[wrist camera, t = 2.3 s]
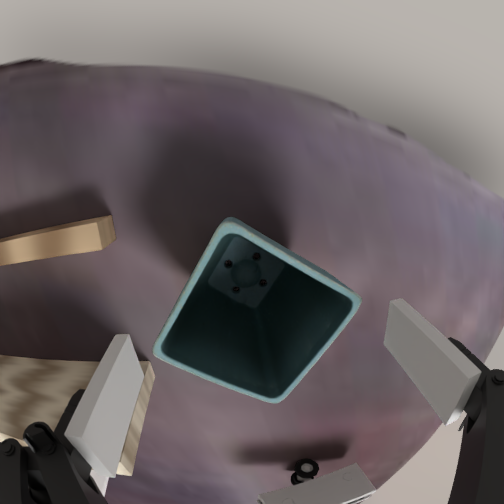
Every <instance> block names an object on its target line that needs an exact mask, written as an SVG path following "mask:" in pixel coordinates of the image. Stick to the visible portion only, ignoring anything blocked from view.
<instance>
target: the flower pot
mask: <svg viewBox="0 0 504 504" xmlns="http://www.w3.org/2000/svg"><path fill="white" fill-rule="evenodd" d="M255 253H259V254H260V258H259V259H255V258H254V257H253V255H254V254H255ZM227 260H230V261H231V262H232V264H231V265H230V266H226V264H225V262H226V261H227ZM262 279H265V280H266V284H265V285H261V284H260V281H261V280H262ZM233 287H239V290H238V291H234V290H233ZM361 302H362V298H361V297H360V296H359V295H358V294H357V293H355V292H354V291H353V290H351V289H350V288H348V287H347V286H346V285H344V284H343V283H342V282H340V281H339V280H338V279H336V278H335V277H333V276H332V275H331V274H329V273H328V272H327V271H325V270H323V269H322V268H320V267H318V266H316V265H315V264H313V263H311V262H309V261H308V260H306V259H304V258H302V257H301V256H299V255H297V254H296V253H294V252H292V251H290V250H289V249H287V248H285V247H283V246H282V245H280V244H278V243H277V242H275V241H273V240H272V239H270V238H268V237H267V236H265V235H263V234H262V233H260V232H258V231H257V230H255V229H253V228H252V227H250V226H248V225H247V224H245V223H243V222H242V221H240V220H238V219H236V218H234V217H228V218H226V219H224V220H223V221H222V222H221V224H220V225H219V226H218V228H217V229H216V231H215V233H214V234H213V236H212V238H211V240H210V242H209V244H208V246H207V247H206V249H205V251H204V253H203V254H202V256H201V258H200V260H199V262H198V263H197V265H196V267H195V269H194V270H193V272H192V274H191V276H190V278H189V279H188V281H187V283H186V285H185V287H184V289H183V290H182V292H181V294H180V296H179V298H178V300H177V302H176V304H175V305H174V307H173V309H172V311H171V313H170V315H169V317H168V319H167V321H166V322H165V324H164V326H163V328H162V330H161V332H160V333H159V335H158V337H157V339H156V341H155V343H154V345H153V348H152V352H153V354H154V356H156V357H157V358H159V359H161V360H163V361H164V362H167V363H169V364H171V365H173V366H175V367H178V368H180V369H183V370H185V371H187V372H190V373H192V374H194V375H197V376H199V377H201V378H203V379H206V380H209V381H211V382H214V383H216V384H219V385H221V386H223V387H226V388H229V389H232V390H234V391H237V392H239V393H242V394H245V395H248V396H251V397H254V398H256V399H259V400H262V401H265V402H270V403H279V402H280V401H282V400H283V399H284V398H286V396H287V395H289V393H290V392H291V391H292V390H293V389H294V388H295V387H296V385H297V384H298V383H299V382H300V381H301V379H302V378H303V377H304V376H305V375H306V374H307V372H308V371H309V370H310V369H311V368H312V367H313V365H314V364H315V363H316V362H317V361H318V359H319V358H320V357H321V355H322V354H323V353H324V352H325V351H326V350H327V349H328V347H329V346H330V345H331V344H332V342H333V341H334V340H335V339H336V338H337V337H338V335H339V334H340V332H341V331H342V330H343V329H344V327H345V326H346V325H347V324H348V322H349V321H350V320H351V318H352V317H353V315H354V314H355V313H356V312H357V310H358V308H359V306H360V304H361Z"/></svg>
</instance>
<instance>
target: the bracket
mask: <svg viewBox="0 0 504 504" xmlns="http://www.w3.org/2000/svg"><path fill="white" fill-rule="evenodd" d="M294 470H295V473H293V474H292V476H291V483H292V484H293V486H290V487H287V488H283V489H279V490H275V491H271V492H267V493H263V494H259V495H258V498H259V499H260V500H257V502H258V504H355V503H358V502H360V501H363V500H365V499H367V498H370V497H371V495H370V494H372V493H375V491H376V488H375V487H374V486H373V485H372V483H371V482H370V481H369V479H368V478H367V477H366V475H365V474H364V473H363V471H362V470H361V469H360V467H359V466H358V464H357V463H354V464H352V465H349V466H347V467H345V468H342V469H340V470H337V471H335V472H332V473H329V474H327V475H324V476H321V477H318V478H315V479H314V477H313V476H315V475H317V473H318V470H319V467H318V464H317V463H316V462H315V461H313V460H311V459H303V460H301V461H299V462H298V463H296V466H295V469H294Z"/></svg>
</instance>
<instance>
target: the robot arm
mask: <svg viewBox="0 0 504 504" xmlns="http://www.w3.org/2000/svg"><path fill="white" fill-rule="evenodd" d="M384 345H385V347H386V348H387V349H388V350H389V352H390V353H391V354H392V355H393V357H394V358H395V359H396V361H397V362H398V363H399V364H400V366H401V367H402V368H403V370H404V371H405V372H406V373H407V375H408V376H409V377H410V379H411V380H412V381H413V383H414V384H415V385H416V387H417V388H418V389H419V391H420V392H421V393H422V395H423V396H424V397H425V399H426V400H427V401H428V403H429V404H430V405H431V407H432V408H433V409H434V411H435V412H436V414H437V415H438V416H439V418H440V419H441V420H442V422H443V423H444V425H445V426H446V425H448V424H450V423H452V422H454V421H456V420H458V419H459V417H460V415H461V413H462V412H463V410H464V411H465V412H466V413H467V415H466V417H465V419H464V420H463V422H462V424H461V426H460V428H459V430H458V431H460V430H461V429H462V428H463V426H464V429H463V437H462V443H461V449H460V455H459V460H458V465H457V470H456V474H455V478H454V483H453V486H452V490H451V494H450V498H449V501H448V504H504V371H503V370H499V369H493V370H489V369H488V368H487V367H486V366H485V365H484V364H483V363H482V362H481V361H480V360H479V359H478V358H477V357H476V356H475V355H474V354H471V352H470V351H469V350H468V349H466V347H465V346H464V345H463V344H462V343H461V342H459V341H457V340H455V339H453V338H451V337H450V338H448V339H447V338H446V337H445V336H444V335H443V334H442V333H441V332H439V331H438V330H437V329H436V328H435V327H434V326H433V325H432V324H431V323H429V322H428V321H427V320H426V319H425V318H424V317H423V316H422V315H421V314H419V313H418V312H417V311H416V310H415V309H414V308H413V307H411V306H410V305H409V304H408V303H407V302H406V301H404V300H403V299H402V298H401V299H396V300H391V301H390V304H389V312H388V319H387V326H386V332H385V339H384ZM143 379H144V374H143V371H142V369H141V366H140V363H139V361H138V358H137V355H136V352H135V350H134V347H133V344H132V341H131V338H130V335H129V334H116V335H115V336H114V338H113V340H112V342H111V343H110V345H109V347H108V349H107V351H106V352H105V354H104V356H103V358H102V360H101V362H100V363H99V365H98V367H97V369H96V371H95V373H94V375H93V377H92V378H91V380H90V382H89V384H88V386H87V388H86V389H79V390H78V391H77V392H76V393H75V394H74V395H72V397H71V399H70V401H69V403H68V406H66V408H65V410H64V413H63V414H62V416H61V418H60V420H59V422H58V424H57V426H56V428H55V430H54V432H53V431H52V429H51V428H50V427H49V425H48V424H46V423H45V422H39V421H38V422H34V423H32V424H30V425H29V426H28V427H27V428H26V429H25V431H24V433H23V440H24V441H25V442H26V444H27V445H28V446H22V445H21V444H20V443H19V442H18V441H17V440H16V439H14V438H8V439H5V440H4V441H2V442H0V504H108V503H107V501H106V500H105V498H104V496H103V495H102V493H101V491H100V490H99V488H98V486H97V484H96V483H95V481H94V479H93V478H92V476H91V475H90V472H91V469H93V470H94V471H95V472H96V473H97V474H98V475H101V476H106V477H112V478H115V476H116V472H117V468H118V464H119V461H120V457H121V453H122V449H123V446H124V442H125V438H126V435H127V431H128V428H129V424H130V421H131V418H132V414H133V411H134V408H135V404H136V401H137V398H138V395H139V392H140V388H141V385H142V382H143Z"/></svg>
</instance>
